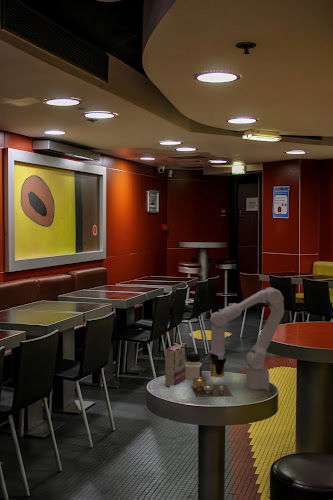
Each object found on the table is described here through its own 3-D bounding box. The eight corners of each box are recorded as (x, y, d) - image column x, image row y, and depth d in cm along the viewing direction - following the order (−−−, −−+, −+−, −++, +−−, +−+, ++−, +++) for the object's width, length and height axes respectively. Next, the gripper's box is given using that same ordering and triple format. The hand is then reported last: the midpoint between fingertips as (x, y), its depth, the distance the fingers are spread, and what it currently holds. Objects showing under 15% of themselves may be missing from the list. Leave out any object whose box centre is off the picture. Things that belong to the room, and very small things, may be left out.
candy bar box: (175, 380, 264) (175, 344, 263) (185, 382, 262) (185, 345, 261) (164, 386, 254) (164, 348, 253) (174, 388, 251) (175, 350, 251)
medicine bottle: (199, 382, 261) (200, 355, 261) (184, 381, 263) (184, 354, 262) (202, 378, 268) (202, 352, 268) (186, 377, 270) (186, 351, 269)
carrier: (225, 387, 253) (225, 373, 252) (233, 398, 237) (233, 383, 236) (190, 388, 251) (190, 374, 251) (196, 399, 235) (196, 384, 235)
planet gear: (222, 373, 253) (222, 362, 252) (225, 377, 247) (225, 365, 247) (209, 374, 252) (209, 362, 252) (211, 377, 246) (212, 365, 246)
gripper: (205, 337, 256) (205, 368, 256) (211, 344, 241) (211, 377, 242) (221, 337, 256) (221, 368, 257) (228, 344, 242) (228, 376, 243)
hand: (217, 372), depth 249 cm, fingers closed on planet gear, 6 cm apart
